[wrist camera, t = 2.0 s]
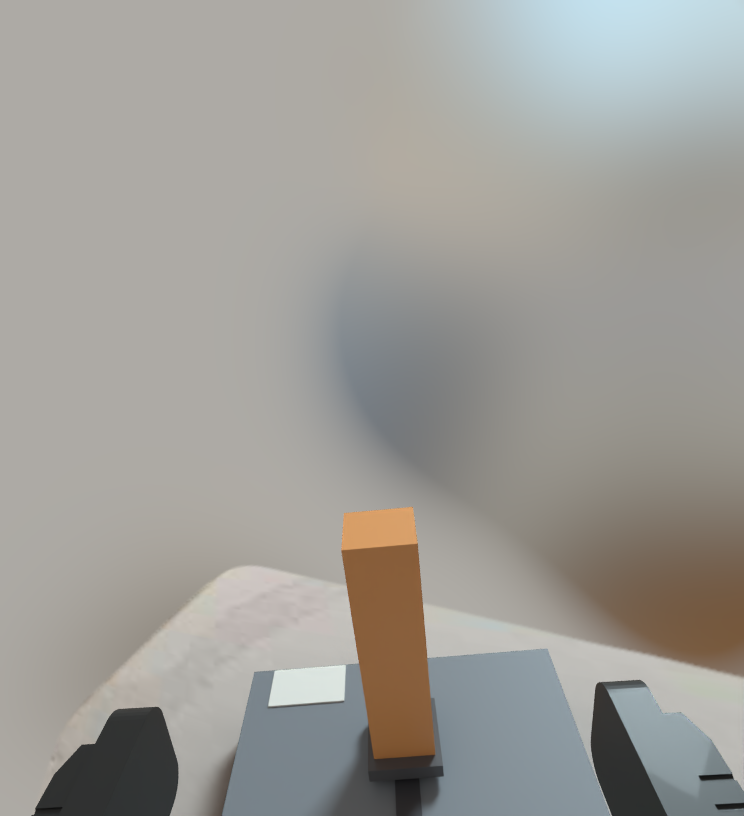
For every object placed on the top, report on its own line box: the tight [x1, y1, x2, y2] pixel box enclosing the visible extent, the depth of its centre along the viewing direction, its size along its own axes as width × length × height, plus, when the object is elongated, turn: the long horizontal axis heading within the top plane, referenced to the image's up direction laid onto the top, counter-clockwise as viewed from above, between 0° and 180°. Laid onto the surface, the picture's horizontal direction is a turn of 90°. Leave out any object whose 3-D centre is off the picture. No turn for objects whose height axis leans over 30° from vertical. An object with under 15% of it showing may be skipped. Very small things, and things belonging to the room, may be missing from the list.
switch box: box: [222, 649, 610, 816], centre depth 28 cm, size 11×18×4 cm, turn 90°
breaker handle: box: [342, 507, 444, 782], centre depth 25 cm, size 4×4×14 cm
